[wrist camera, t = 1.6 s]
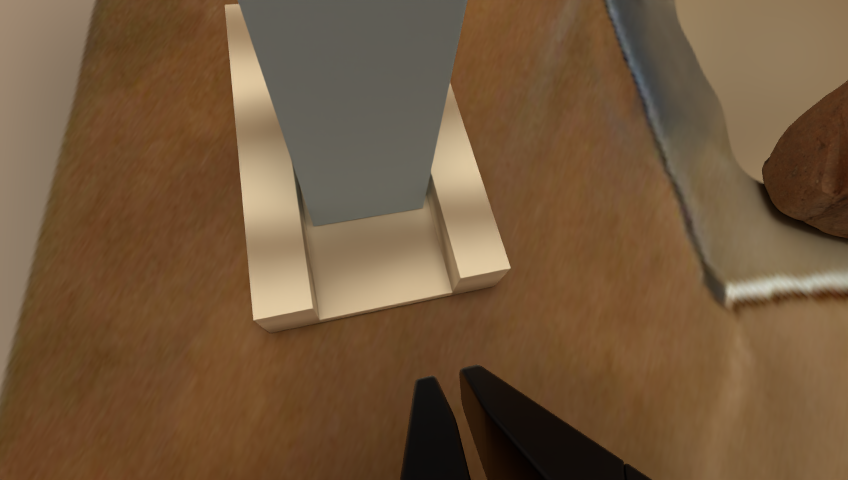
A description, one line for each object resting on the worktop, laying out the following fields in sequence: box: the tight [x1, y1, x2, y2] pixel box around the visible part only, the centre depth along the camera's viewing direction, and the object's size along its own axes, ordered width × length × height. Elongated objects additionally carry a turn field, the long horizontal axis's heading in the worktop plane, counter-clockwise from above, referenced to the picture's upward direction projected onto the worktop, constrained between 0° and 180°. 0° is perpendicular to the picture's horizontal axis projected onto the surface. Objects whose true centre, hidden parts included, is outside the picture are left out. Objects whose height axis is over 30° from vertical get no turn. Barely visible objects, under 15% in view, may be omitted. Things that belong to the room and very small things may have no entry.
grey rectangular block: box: [238, 0, 467, 226], centre depth 18 cm, size 6×6×14 cm
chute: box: [225, 4, 510, 333], centre depth 24 cm, size 19×12×3 cm, turn 13°
